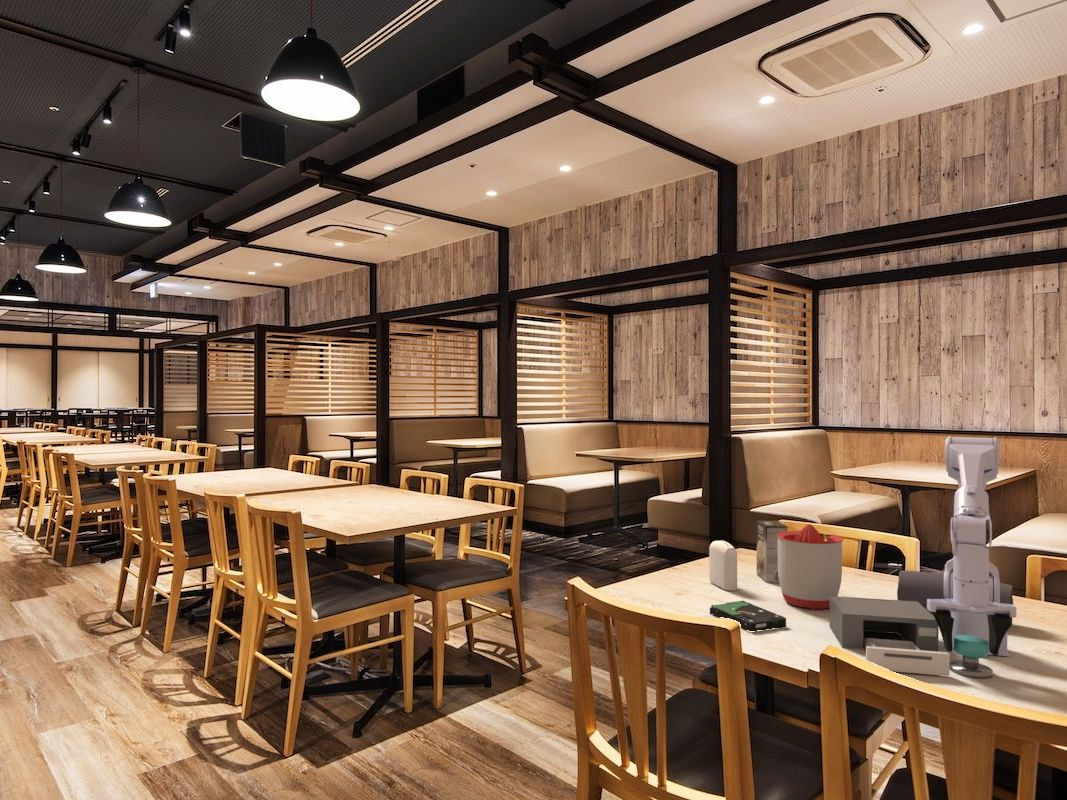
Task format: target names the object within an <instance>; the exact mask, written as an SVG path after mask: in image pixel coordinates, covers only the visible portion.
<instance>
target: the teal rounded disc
mask: <svg viewBox="0 0 1067 800" xmlns="http://www.w3.org/2000/svg"><path fill="white" fill-rule="evenodd" d="M953 652H954V653H955V654H957V655H960V656H962V657H963V656H967V657H972V658H979V659H985V658H987V657H989V655H988V641H987V640H985V639H983V638H980V637H976V636H971V635H955V636H954V649H953Z"/></svg>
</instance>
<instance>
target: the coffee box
mask: <svg viewBox="0 0 1067 800" xmlns="http://www.w3.org/2000/svg"><path fill="white" fill-rule="evenodd" d="M785 531H788V526H787V525H786V524H785V523H782V522H781V521H779V520H756V575H757V576H758V577H759V578H760V579H761V578H762V581H764V582H765V583H780V582H779V577H778V536H777V534H778V533H780V532H785Z"/></svg>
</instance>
